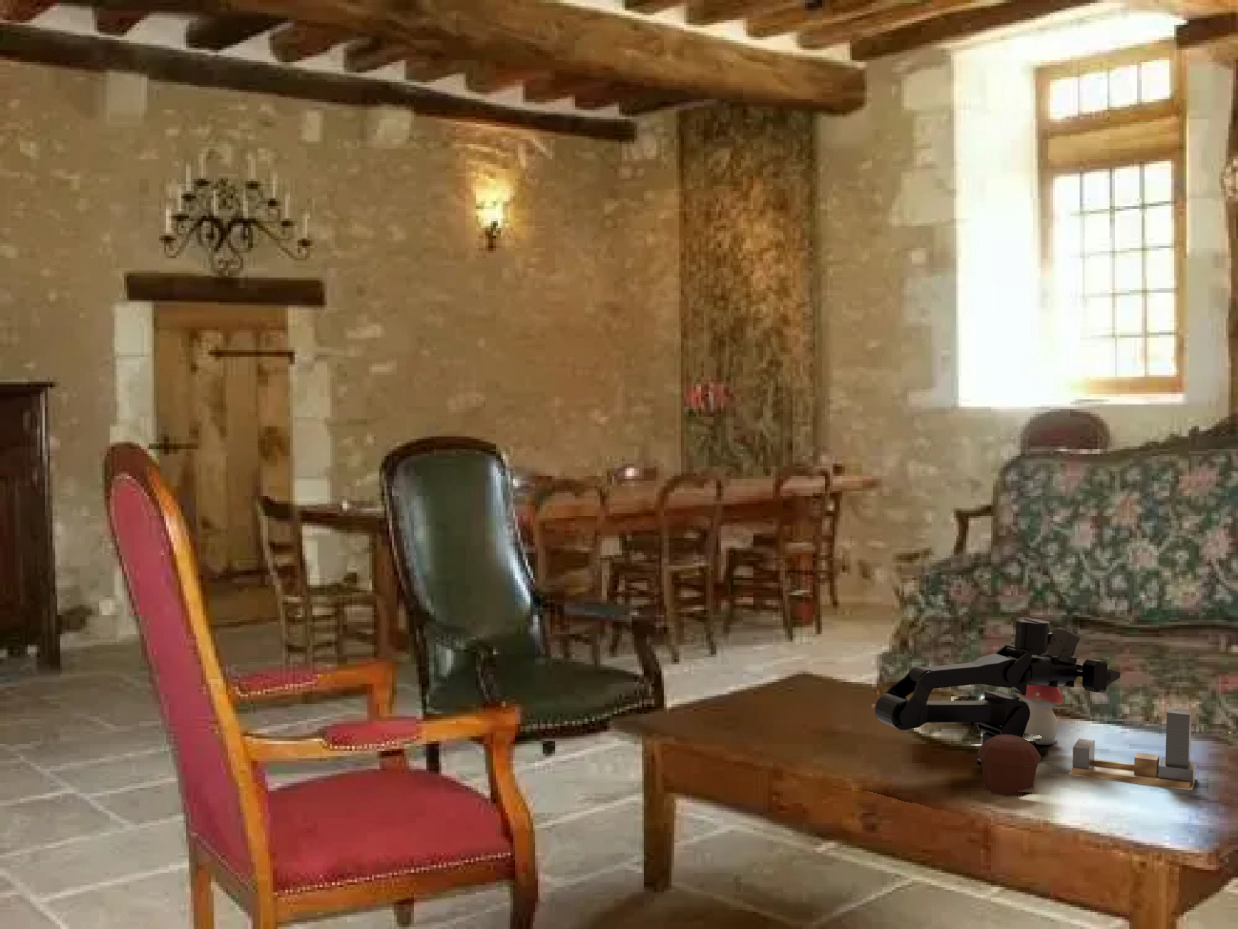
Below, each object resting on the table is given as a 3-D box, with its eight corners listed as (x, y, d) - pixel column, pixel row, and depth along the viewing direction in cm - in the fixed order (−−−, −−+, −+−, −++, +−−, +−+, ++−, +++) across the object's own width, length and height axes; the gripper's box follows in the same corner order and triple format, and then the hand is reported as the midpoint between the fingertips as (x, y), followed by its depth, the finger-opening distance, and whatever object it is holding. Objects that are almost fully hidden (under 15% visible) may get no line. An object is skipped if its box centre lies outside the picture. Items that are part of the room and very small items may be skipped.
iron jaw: (1072, 772, 269) (1072, 747, 269) (1078, 763, 275) (1078, 738, 275) (1088, 774, 268) (1089, 749, 267) (1094, 765, 274) (1094, 740, 274)
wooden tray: (1068, 780, 268) (1068, 769, 268) (1076, 767, 277) (1077, 756, 277) (1191, 796, 258) (1192, 784, 258) (1196, 782, 267) (1196, 771, 267)
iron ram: (1158, 781, 262) (1160, 713, 261) (1162, 772, 268) (1164, 705, 267) (1192, 786, 259) (1194, 717, 259) (1196, 777, 265) (1198, 709, 264)
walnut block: (1133, 778, 265) (1134, 757, 265) (1136, 773, 269) (1137, 752, 269) (1156, 781, 264) (1156, 760, 263) (1158, 775, 267) (1159, 755, 267)
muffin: (1053, 792, 261) (1054, 739, 260) (1014, 802, 254) (1015, 748, 254) (1002, 777, 270) (1003, 726, 270) (963, 786, 264) (964, 734, 263)
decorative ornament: (1066, 745, 293) (1069, 673, 292) (1046, 748, 289) (1048, 675, 289) (1031, 736, 300) (1033, 667, 300) (1010, 739, 297) (1013, 669, 297)
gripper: (1074, 635, 273) (1138, 637, 278) (1014, 627, 290) (1075, 628, 296) (1072, 692, 272) (1136, 693, 278) (1012, 681, 290) (1073, 681, 295)
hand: (1104, 672), depth 287 cm, fingers open, 9 cm apart
